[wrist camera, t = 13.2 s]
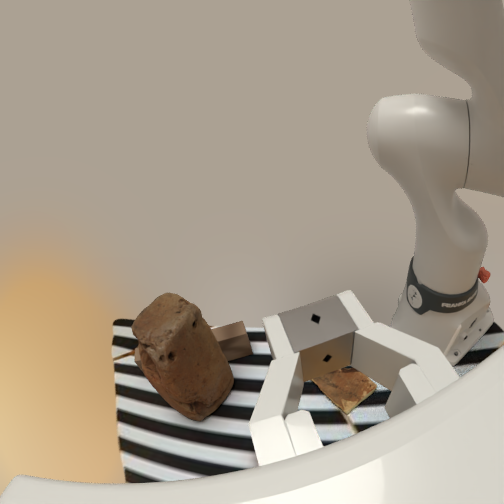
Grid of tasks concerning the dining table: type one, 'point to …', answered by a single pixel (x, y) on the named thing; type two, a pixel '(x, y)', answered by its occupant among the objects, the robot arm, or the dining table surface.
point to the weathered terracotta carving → (182, 356)
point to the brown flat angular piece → (345, 387)
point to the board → (225, 342)
